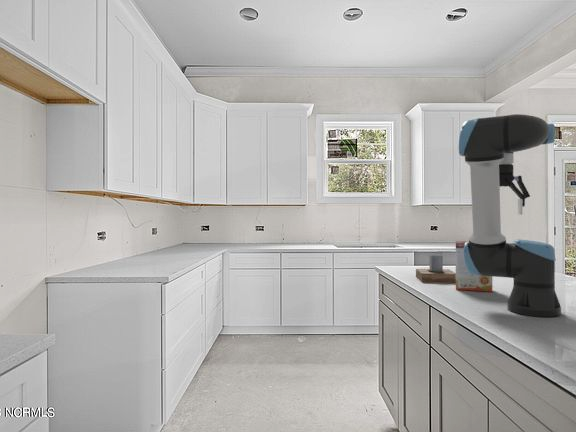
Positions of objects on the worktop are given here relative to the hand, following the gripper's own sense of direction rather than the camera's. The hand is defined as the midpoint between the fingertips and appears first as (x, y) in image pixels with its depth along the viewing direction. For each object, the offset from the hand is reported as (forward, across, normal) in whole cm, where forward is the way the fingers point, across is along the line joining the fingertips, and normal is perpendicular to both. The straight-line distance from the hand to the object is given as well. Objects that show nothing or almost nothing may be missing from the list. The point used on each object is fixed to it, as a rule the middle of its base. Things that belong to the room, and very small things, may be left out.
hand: (503, 214), depth 172 cm
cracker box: (+32, +13, +4) cm, 35 cm away
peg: (+32, +23, -20) cm, 44 cm away
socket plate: (+32, +23, -20) cm, 44 cm away
